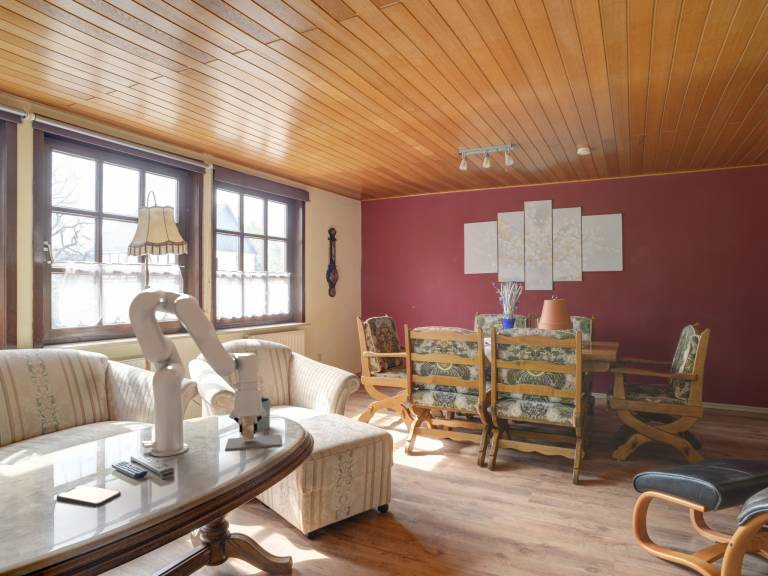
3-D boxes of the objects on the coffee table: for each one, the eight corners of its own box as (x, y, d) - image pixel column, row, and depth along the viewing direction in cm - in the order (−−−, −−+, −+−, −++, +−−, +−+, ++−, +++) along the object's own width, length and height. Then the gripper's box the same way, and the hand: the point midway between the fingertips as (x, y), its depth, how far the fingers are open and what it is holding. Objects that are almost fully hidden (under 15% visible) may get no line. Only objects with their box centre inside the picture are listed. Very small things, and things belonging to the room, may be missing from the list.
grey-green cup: (253, 433, 202) (253, 404, 202) (242, 428, 210) (241, 399, 210) (275, 428, 209) (275, 399, 209) (263, 423, 217) (263, 395, 216)
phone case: (123, 496, 146) (81, 489, 151) (123, 491, 146) (81, 483, 151) (97, 510, 137) (54, 501, 142) (97, 504, 137) (54, 496, 142)
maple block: (242, 440, 187) (242, 413, 187) (243, 436, 191) (242, 410, 191) (253, 439, 188) (253, 412, 188) (254, 435, 192) (253, 410, 191)
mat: (225, 450, 182) (225, 448, 182) (228, 440, 194) (228, 438, 193) (281, 446, 186) (281, 444, 186) (280, 436, 198) (280, 434, 198)
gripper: (223, 389, 183) (224, 438, 184) (269, 386, 187) (270, 434, 187) (225, 384, 191) (226, 432, 191) (270, 382, 194) (271, 429, 195)
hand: (248, 433), depth 189 cm, fingers closed on maple block, 3 cm apart
